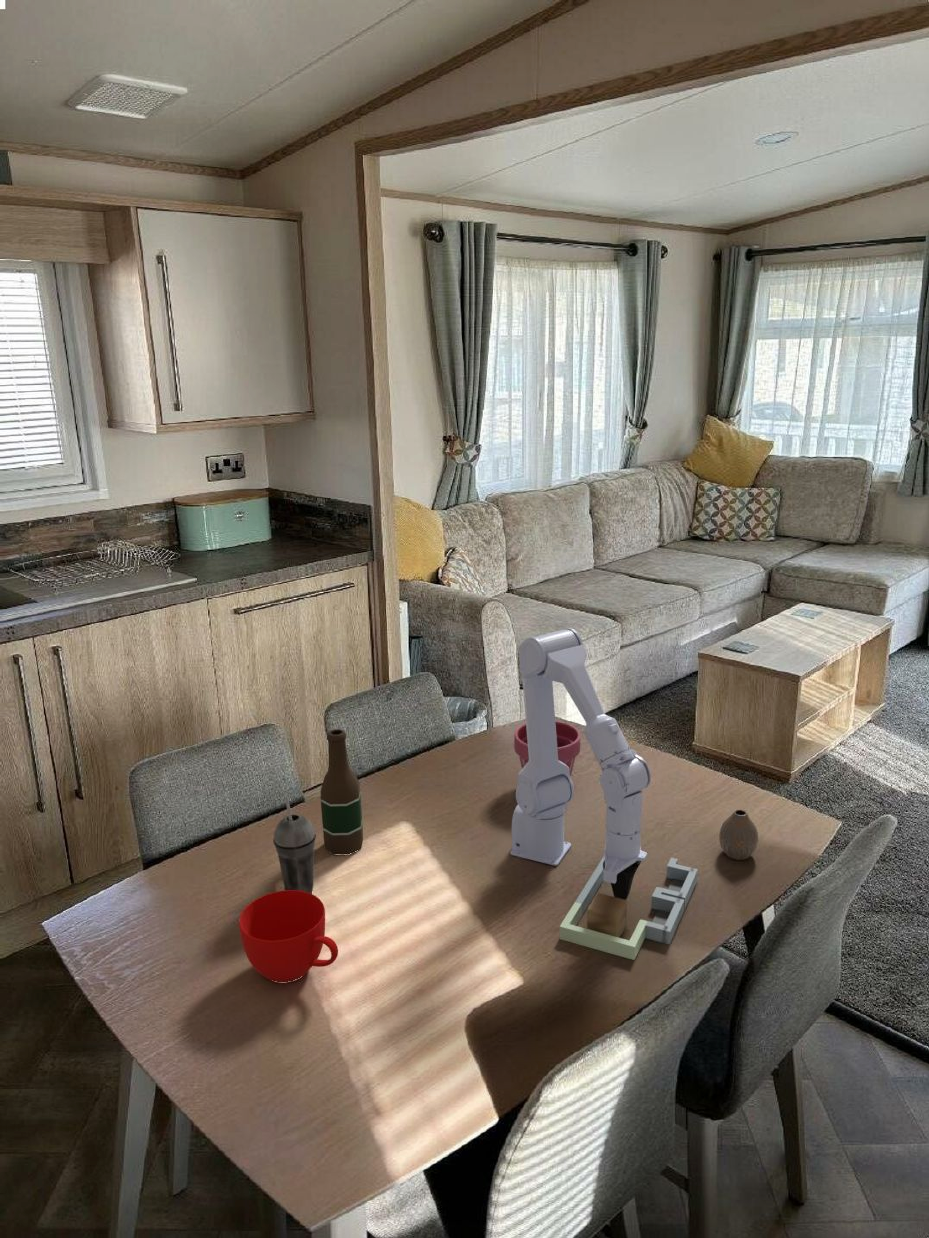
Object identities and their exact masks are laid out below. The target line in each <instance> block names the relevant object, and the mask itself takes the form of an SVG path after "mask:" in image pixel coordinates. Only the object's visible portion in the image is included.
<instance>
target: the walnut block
mask: <svg viewBox="0 0 929 1238" xmlns="http://www.w3.org/2000/svg"><path fill="white" fill-rule="evenodd" d="M627 905H628V900H627V899H626V900H624V899H620V898H616V897H614V895H608V894H605V893H601V892H597V893H596V894H595V895H594V897H593V898H592V900H591V901H590V903H589V905H588V906H587V908H586V929H589V930H593V931H596V932H600V933H604V934H607V935H611V936H615V937H618V938H621V936H622V934H623V932H624V930H625V928H626V927H627V908H628V907H627Z"/></svg>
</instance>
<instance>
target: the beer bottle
mask: <svg viewBox="0 0 929 1238" xmlns="http://www.w3.org/2000/svg"><path fill="white" fill-rule="evenodd" d="M346 739H347V733H346V731H345V730H343V729H340V728H337V729H332V730H329V731H328V732H327V735H326V741H327V743H328V744H327V745H328V746H327V747H328V750H327V751H328V753H327V754H328V769H327V771H326V774H325V775H324V777H323V781H322V784H321V788H320V807H321V808H320V809H321V821H322V822H321V823H322V835H323V836H322V837H323V842H324V843H323V844H324V845H323V846H324V850H325V851H327V850H328V851H327V852H329V853H330V852H331V854H332V853H333V854H332V855H334V854H350V853H352V854H354V853H356V852H358V851H360V850H361V849H362V846H363V841H364V829H363V828H364V827H363V826H364V825H363V824H364V823H363V809H362V795H361V787H360V781H359V779H358V777H357V775H356V773H354V772H353V771H352V769H351V767H350V763H349V758H348V757H349V756H348V750H347V744H346ZM359 849H360V850H359ZM357 850H358V851H357ZM355 851H356V852H355ZM353 852H354V853H353ZM350 855H351V854H350Z"/></svg>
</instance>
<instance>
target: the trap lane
mask: <svg viewBox="0 0 929 1238" xmlns="http://www.w3.org/2000/svg"><path fill="white" fill-rule="evenodd" d="M604 860H605V857H604V856H603V857H602V858H601V860H600V862H598V865H597V867H596V868H595V870H594V871H593V873H592V874H591V876H590V878H589V879H588V881H587V882H586V883H585V886H584V887H583V889H582V890H581V892H580V893H579V895H578V897H577V898H576V900H575V901H574V903H572V906H571V908H570V909H569V910H568V912H567V914H566V916H565V917H564V919H563V920H562V922H561V923H560V925H559V940H562V941H565V942H569V943H572V944H576V945H580V946H583V947H587V948H591V949H595V950H597V951H601V952H604V953H608V954H612V955H615V956H618V957H623V958H625V959H629V960H633V961H635V959H636V958H637V955H638V953H639V951H640V949H641V948H642V945H643V944H644V941H645V939H647V940H651V941H655V942H659V943H663V944H666V945H671V942H672V940H673V938H674V936H675V933H676V931H677V929H678V926H679V924H680V921H681V919H682V917H683V915H684V912H685V911H686V907H687V905H688V903H689V901H690V898H691V896H692V895H693V892H694V890H695V887H696V885H697V882H698V874H699V873H698V871H699V869H697V868H694V867H689V866H686V865H681V864H679V863H678V861H679V859H678V858H675V857H670V859H669V861H668V863H667V865H666V877H665V878H667V879H671V882H670V884H669V886H668V888H664V887H660V886H656V887H655V889H654V891H653V893H652V895H651V906H650V907H651V909H654V910H656V914H655V915H654V917H653V920H652V921H648V920H645V919H639V921H638V923H637V925H636V927H635V929H634V931H633V933H632V934H631V937H630V939H629V940H628V939H625V938H621V937H620V938H618V937H615V936H611V935H607V934H604V933H600V932H596V931H593V930H589V929H587V928H585V927H582V926H577V925H578V923H579V921H580V920H581V918H582V917H583V914H584V913H585V911H587V909H588V907H589V905H590V904H591V902H592V901H593V899H594V897H595V896H596V894H597V893H596V892H598V890H599V888H600V886H601V884H602V883H603V882H604V881H603V871H604V869H603V862H604ZM684 910H685V911H684Z"/></svg>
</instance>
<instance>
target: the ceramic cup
mask: <svg viewBox="0 0 929 1238" xmlns="http://www.w3.org/2000/svg"><path fill="white" fill-rule="evenodd" d="M238 928H239V935H240V938H241V943H242V948H243V950H244V953H245V956H246V958H247V959H248V961H249V963H250V965H251V966H252V967H253V968H254V970H256V971H257V972H258V974H259V975H261V976H262V977H265V978H266V979H268V980H269V979H270V980H269V981H271V980H273V981H277V982H288V981H293V980H295V979H298V978H300V977H301V976H303V975H304V974H305V973H306V974H307V973H308V972H309V970H311V968H313V967H317V968H318V967H320V968H323V967H328V966H330V965H332V964H333V963H334V962H335V961H336V960H337V958H338V955H339V948H338V945H337V943H336V942H335V940H334V939H332V938H331V937H329V936H326V935H325V934H326V933H325V932H326V909H325V905H324V902H322V900H321V899H320V898H319V897H318V896H317V895H315V894H311V893H308V892H304V891H298V890H285V889H284V890H278V891H274V892H271V893H267V894H264V895H262V896H259V897H258V898H256V899H255V900H253V901H251V902H250V903H249V904H248V905H246V907H244V908H243V910H242V912H241V914H240V916H239V920H238ZM324 945H325V946H326V947H327V948H328V949H329V952H330V955H331V956H330V958H329V959H319V957H320V954H321V951H322V949H323V946H324ZM306 974H305V975H306ZM305 975H304V976H305ZM304 976H303V977H304ZM300 979H301V978H300Z"/></svg>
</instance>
